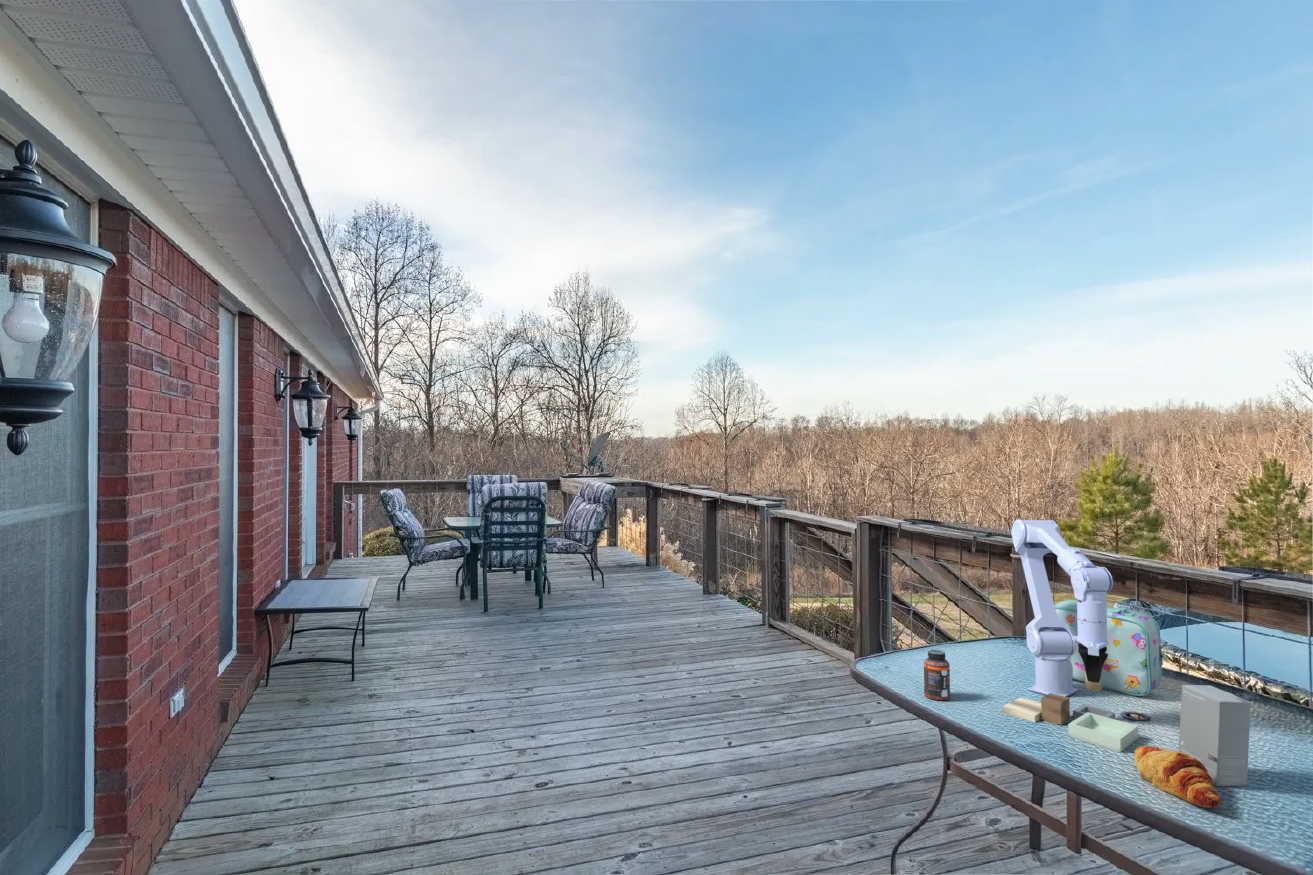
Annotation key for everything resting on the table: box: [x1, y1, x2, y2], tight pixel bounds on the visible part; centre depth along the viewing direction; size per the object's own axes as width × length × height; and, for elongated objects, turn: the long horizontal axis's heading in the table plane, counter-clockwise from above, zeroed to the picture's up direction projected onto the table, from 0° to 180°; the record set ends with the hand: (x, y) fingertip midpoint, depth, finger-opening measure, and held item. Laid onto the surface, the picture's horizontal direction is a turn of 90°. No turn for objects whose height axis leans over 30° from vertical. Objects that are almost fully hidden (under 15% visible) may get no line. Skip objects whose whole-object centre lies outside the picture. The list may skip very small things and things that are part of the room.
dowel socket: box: [1072, 704, 1116, 720], centre depth 148 cm, size 6×6×2 cm
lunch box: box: [1053, 599, 1168, 697], centre depth 171 cm, size 27×10×21 cm, turn 34°
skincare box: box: [1177, 684, 1252, 787], centre depth 122 cm, size 8×7×16 cm
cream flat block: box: [1002, 696, 1042, 723], centre depth 152 cm, size 10×7×2 cm
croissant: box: [1134, 745, 1222, 809], centre depth 118 cm, size 21×10×8 cm, turn 174°
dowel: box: [1084, 671, 1103, 693], centre depth 149 cm, size 3×3×7 cm
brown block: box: [1040, 693, 1071, 726], centre depth 147 cm, size 5×4×5 cm
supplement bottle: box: [923, 649, 951, 702], centre depth 162 cm, size 6×6×11 cm
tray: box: [1067, 712, 1139, 753], centre depth 138 cm, size 11×10×3 cm
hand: (1093, 679), depth 149 cm, fingers closed on dowel, 3 cm apart
